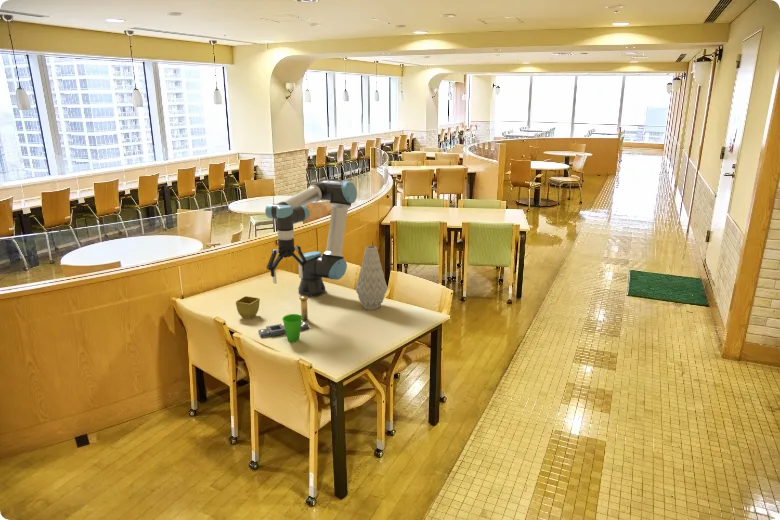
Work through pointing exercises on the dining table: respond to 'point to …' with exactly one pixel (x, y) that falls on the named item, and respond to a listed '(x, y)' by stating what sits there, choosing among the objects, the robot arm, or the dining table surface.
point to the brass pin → (304, 307)
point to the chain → (278, 330)
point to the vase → (371, 280)
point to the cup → (292, 327)
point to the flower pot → (248, 306)
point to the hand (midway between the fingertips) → (288, 280)
